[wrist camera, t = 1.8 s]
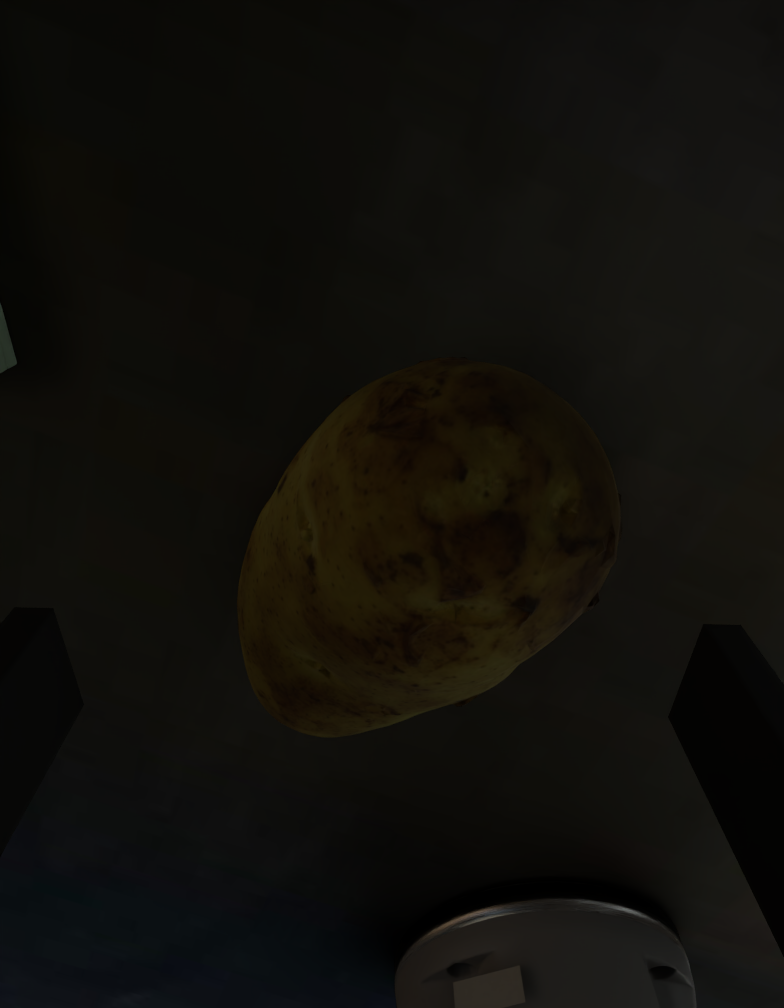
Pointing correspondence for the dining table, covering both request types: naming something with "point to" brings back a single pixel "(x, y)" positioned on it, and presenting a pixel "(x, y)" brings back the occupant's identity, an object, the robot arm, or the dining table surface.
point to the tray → (5, 346)
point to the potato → (423, 547)
